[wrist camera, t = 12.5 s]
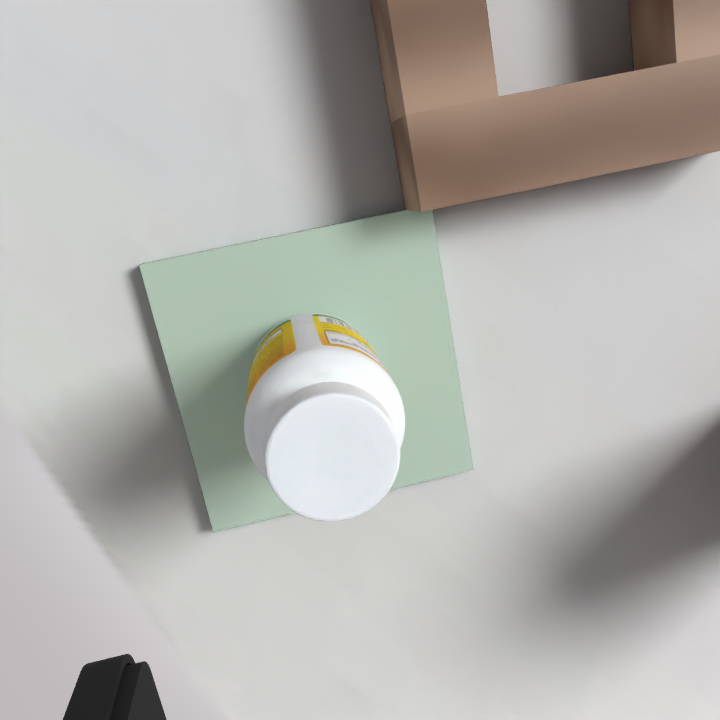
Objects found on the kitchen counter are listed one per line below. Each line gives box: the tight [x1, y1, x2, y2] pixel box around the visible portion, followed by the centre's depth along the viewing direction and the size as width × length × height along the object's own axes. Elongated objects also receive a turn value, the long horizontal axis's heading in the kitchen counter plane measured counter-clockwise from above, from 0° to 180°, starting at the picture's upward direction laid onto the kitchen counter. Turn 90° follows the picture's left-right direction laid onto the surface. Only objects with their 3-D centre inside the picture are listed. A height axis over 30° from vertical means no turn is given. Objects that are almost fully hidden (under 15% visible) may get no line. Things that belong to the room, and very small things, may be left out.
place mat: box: [139, 210, 474, 532], centre depth 29 cm, size 12×12×1 cm
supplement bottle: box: [244, 313, 405, 521], centre depth 24 cm, size 5×5×10 cm
